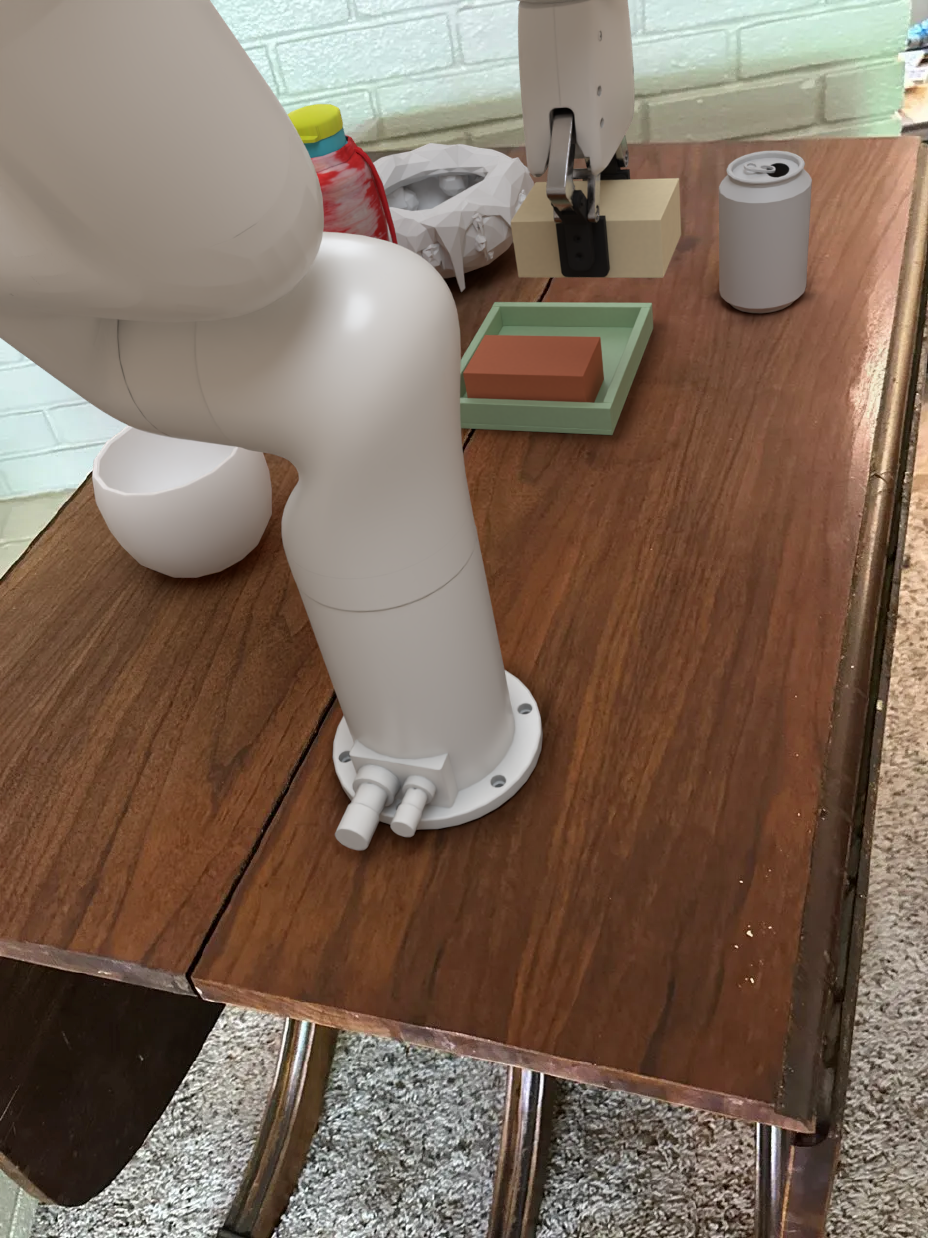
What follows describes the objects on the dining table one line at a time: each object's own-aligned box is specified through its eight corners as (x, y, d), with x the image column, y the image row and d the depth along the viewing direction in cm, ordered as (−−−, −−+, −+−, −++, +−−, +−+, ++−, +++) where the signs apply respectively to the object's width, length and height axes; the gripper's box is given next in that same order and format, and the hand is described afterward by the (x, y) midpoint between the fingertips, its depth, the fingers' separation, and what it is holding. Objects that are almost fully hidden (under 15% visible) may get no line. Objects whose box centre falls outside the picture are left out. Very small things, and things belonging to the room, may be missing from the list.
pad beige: (663, 278, 71) (660, 219, 68) (518, 277, 74) (510, 221, 71) (681, 234, 75) (679, 177, 72) (542, 236, 78) (535, 181, 75)
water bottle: (289, 435, 93) (192, 140, 77) (318, 384, 99) (234, 99, 82) (421, 434, 90) (351, 126, 73) (444, 382, 96) (383, 84, 79)
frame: (612, 435, 86) (610, 408, 84) (440, 427, 90) (435, 401, 89) (653, 328, 96) (652, 302, 95) (498, 326, 101) (494, 301, 100)
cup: (121, 538, 86) (72, 437, 80) (266, 483, 89) (230, 381, 82) (149, 629, 78) (97, 524, 71) (310, 565, 80) (273, 458, 73)
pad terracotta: (587, 419, 87) (583, 376, 84) (470, 414, 90) (462, 372, 87) (604, 379, 91) (600, 336, 88) (491, 375, 94) (484, 334, 91)
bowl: (307, 285, 114) (281, 191, 108) (449, 209, 123) (433, 117, 116) (434, 338, 102) (413, 235, 95) (583, 248, 110) (573, 149, 103)
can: (806, 315, 94) (814, 177, 86) (717, 319, 96) (717, 185, 88) (804, 274, 99) (811, 140, 91) (720, 279, 101) (720, 149, 93)
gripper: (549, -82, 69) (577, 195, 81) (461, 10, 58) (509, 315, 70) (667, -96, 66) (677, 193, 78) (598, -2, 55) (623, 317, 67)
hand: (598, 248), depth 74 cm, fingers closed on pad beige, 6 cm apart
